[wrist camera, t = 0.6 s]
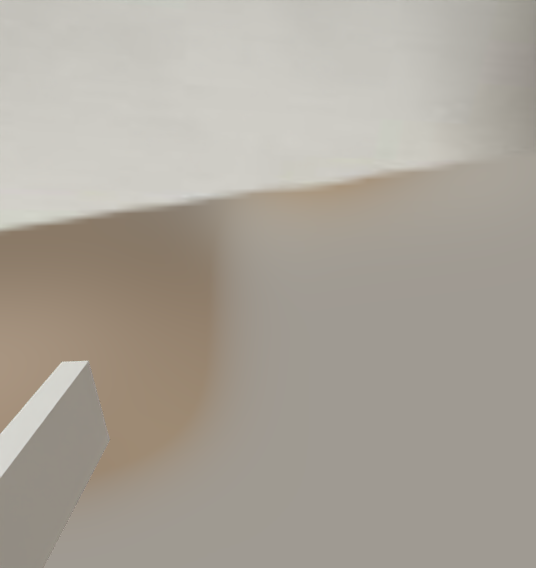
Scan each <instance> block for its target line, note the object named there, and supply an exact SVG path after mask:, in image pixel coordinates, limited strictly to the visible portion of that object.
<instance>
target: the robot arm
mask: <svg viewBox="0 0 536 568" xmlns="http://www.w3.org/2000/svg"><path fill="white" fill-rule="evenodd" d="M109 440H110V439H109V435H108V431H107V428H106V424H105V420H104V416H103V413H102V409H101V405H100V401H99V398H98V394H97V390H96V387H95V383H94V379H93V375H92V371H91V368H90V364H89V361H73V362H61V364H60V365H59V366H58V367H57V368H56V370H55V371H54V372H53V373H52V374H51V375H50V376H49V378H48V379H47V380H46V381H45V382H44V383H43V385H42V386H41V387H40V388H39V389H38V391H37V392H36V393H35V394H34V395H33V396H32V397H31V399H30V400H29V401H28V402H27V403H26V405H25V406H24V407H23V408H22V409H21V411H20V412H19V413H18V414H17V415H16V416H15V418H14V419H13V420H12V421H11V422H10V423H9V425H8V426H7V427H6V428H5V429H4V430H3V431H2V433H1V434H0V568H44V566H45V564H46V562H47V560H48V558H49V556H50V554H51V553H52V550H53V549H54V547H55V545H56V543H57V541H58V539H59V537H60V535H61V533H62V531H63V529H64V527H65V525H66V524H67V522H68V520H69V518H70V516H71V514H72V512H73V510H74V508H75V506H76V504H77V502H78V500H79V498H80V496H81V494H82V493H83V491H84V489H85V487H86V485H87V483H88V481H89V479H90V477H91V475H92V473H93V471H94V469H95V467H96V465H97V464H98V462H99V460H100V458H101V456H102V454H103V452H104V450H105V448H106V446H107V444H108V442H109Z"/></svg>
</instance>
